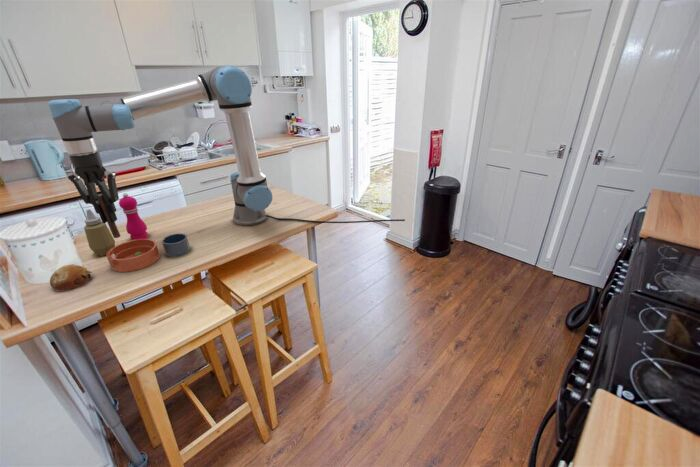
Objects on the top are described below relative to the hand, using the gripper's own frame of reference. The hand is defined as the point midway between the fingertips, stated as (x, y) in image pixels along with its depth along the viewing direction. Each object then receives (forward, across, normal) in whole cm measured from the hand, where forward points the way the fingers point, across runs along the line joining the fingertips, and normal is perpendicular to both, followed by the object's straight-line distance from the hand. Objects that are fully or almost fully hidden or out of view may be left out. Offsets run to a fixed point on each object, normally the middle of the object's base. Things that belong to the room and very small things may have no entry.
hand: (110, 221), depth 110 cm
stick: (+6, 0, 0) cm, 6 cm away
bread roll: (+17, +11, +11) cm, 23 cm away
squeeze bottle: (+17, +11, -9) cm, 22 cm away
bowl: (+17, -4, 0) cm, 17 cm away
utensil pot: (+17, -17, -5) cm, 24 cm away
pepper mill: (+17, +3, -20) cm, 26 cm away
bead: (+15, -5, 0) cm, 16 cm away
